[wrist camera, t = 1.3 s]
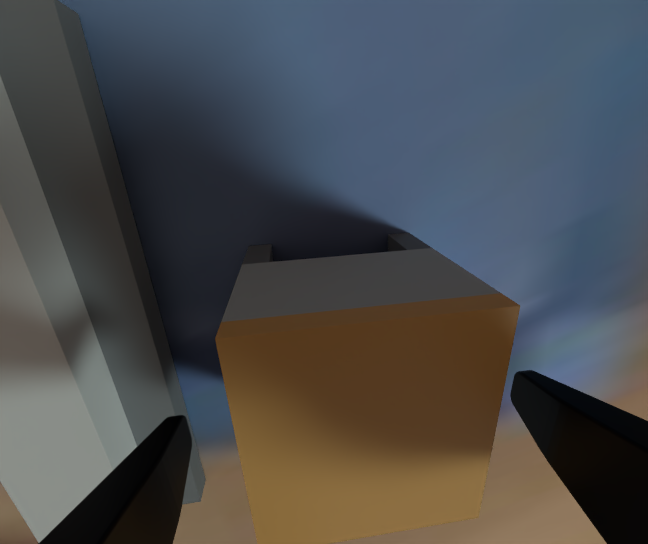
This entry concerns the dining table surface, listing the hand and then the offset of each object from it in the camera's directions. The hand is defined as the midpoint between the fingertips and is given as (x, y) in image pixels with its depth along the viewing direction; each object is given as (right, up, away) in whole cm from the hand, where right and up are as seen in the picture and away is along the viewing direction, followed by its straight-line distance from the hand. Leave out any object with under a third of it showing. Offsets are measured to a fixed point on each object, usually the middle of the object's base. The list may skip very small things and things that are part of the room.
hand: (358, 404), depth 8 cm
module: (-1, +2, +4) cm, 5 cm away
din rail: (-10, +2, +3) cm, 11 cm away
